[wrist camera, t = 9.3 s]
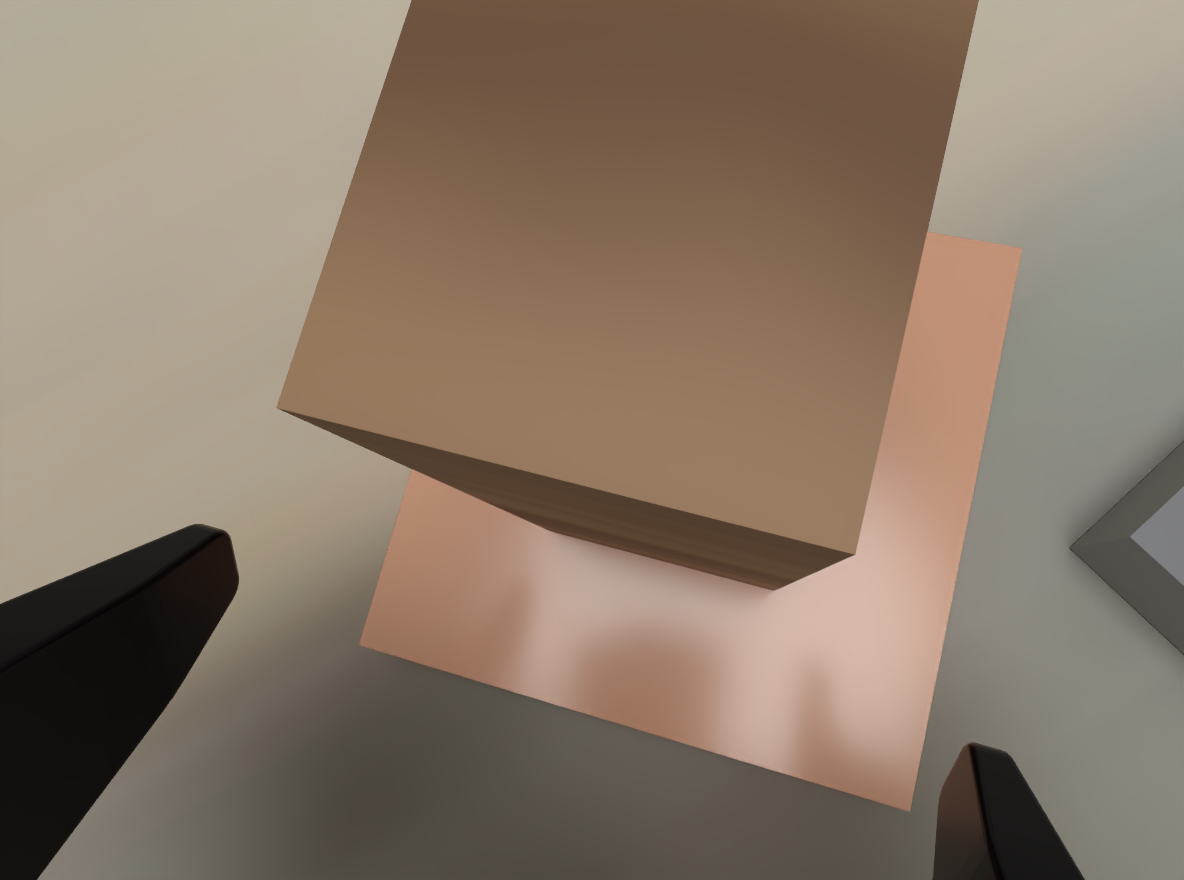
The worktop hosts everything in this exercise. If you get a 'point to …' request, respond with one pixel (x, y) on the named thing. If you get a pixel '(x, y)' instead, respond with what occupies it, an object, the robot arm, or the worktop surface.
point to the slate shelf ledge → (1145, 547)
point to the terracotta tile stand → (736, 584)
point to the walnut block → (641, 265)
